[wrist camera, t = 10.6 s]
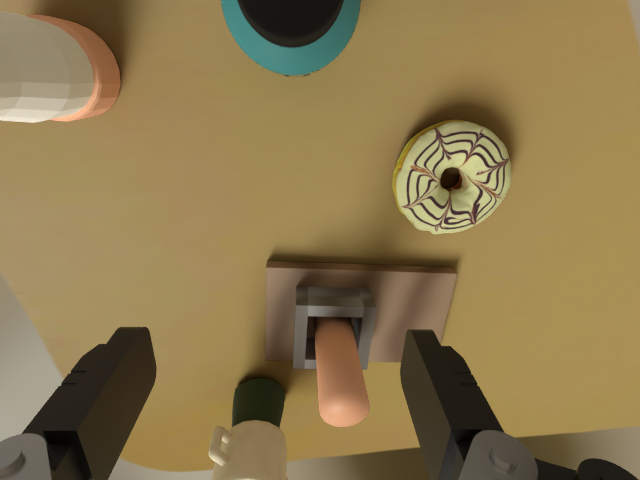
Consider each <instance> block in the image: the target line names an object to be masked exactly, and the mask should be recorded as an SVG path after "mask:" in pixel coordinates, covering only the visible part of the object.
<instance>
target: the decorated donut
mask: <svg viewBox="0 0 640 480" xmlns="http://www.w3.org/2000/svg"><path fill="white" fill-rule="evenodd" d="M449 167H455V168H457V169H458V170H459V173H460V178H459V182H458V183H457V184H456V185H455V186H453V188H452V187H450V188H449V189H444V188H442V187H441V185H440V179H441V175H442V173H443V171H444V170H445V169H446V168H449ZM511 174H512V173H511V163H510V159H509V155H508V152H507V149H506V147H505V145H504V144H503V142H502V141H500V139H499V138H498V137H497V136H496V135H495V134H494V133H493V132H492V131H490V130H488V129H487V128H485V127H483V126H480V125H478V124H475V123H472V122H468V121H463V120H448V121H443V122H440V123H437V124H435V125H432V126H430V127H428V128H426V129H424V130H422V131H421V132H419V133H418V134H416V135H415V136H414V137H412V138H411V139H410V141H409V142H408V143H407V144H406V146H405V147H404V149H403V151H402V153H401V155H400V157H399V159H398V160H397V164H396V167H395V170H394V172H393V181H392V187H393V192H394V194H395V200H396V203H397V206H398V208H399V210H400V212H401V213H402V214H404V215H405V216H406V217H407V218H408V219H409V221H410V222H411V223H412V224H413V225H414V226H415V227H416V228H417V229H419V230H423V231H430V232H431V233H432V234H442V233H453V232H459V231H463V230H466V229H468V228H470V227H472V226H475V225H477V224H478V223H480V222H481V221H483V220H484V219H486V218H487V217H488V216H489V215H491V214H492V213H493V211H494V210H495V209H496V208H497V207H498V206H499V205H500V203H501V202H502V200H503V199H504V197H505V195H506V193H507V191H508V189H509V187H510V185H511V179H512V176H511Z"/></svg>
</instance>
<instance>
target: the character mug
mask: <svg viewBox="0 0 640 480" xmlns="http://www.w3.org/2000/svg"><path fill="white" fill-rule="evenodd" d="M284 401H285V394H284V391H283V388H282V387H281V386H280V385H279V384H278V383H277V382H275V381H273V380H269V379H265V378H261V379H252V380H249V381H247V382H244V383H242V384H241V385H240V386H238V387H237V388H236V389H235V394H234V400H233V410H232V428H231V429H230V430H229V431H228V430H226V429H225V428H224V427H221V426H217V427H216V428H215V430H214V432H213V435H212V439H211V443H210V448H209V456H210V458H211V459H212V460H213V461H215V465H214V468H213V475H212V480H287V476H286V457H287V448H286V441H285V435H284V434H283V432H282V431H281V430H280V428H279V427H280V422H281V417H282V413H283V408H284Z"/></svg>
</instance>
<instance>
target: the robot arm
mask: <svg viewBox="0 0 640 480" xmlns="http://www.w3.org/2000/svg"><path fill="white" fill-rule="evenodd" d="M400 376H401V384H402V388H403V391H404V395H405V398H406V401H407V405H408V408H409V411H410V414H411V418H412V421H413V424H414V428H415V431H416V434H417V437H418V441H419V444H420V447H421V450H422V454H423V457H424V460H425V464H426V467H427V470H428V473H429V477H430V480H638V479H637V478H636V477H634V476H633V475H632V474H631V473H629V472H628V471H626V470H625V469H623V468H621V467H620V466H617V465H616V464H614V463H611V462H608V461H606V460H601V459H595V458H594V459H586V460H584V461H582V462H581V463H580V465H579V467H578V469H577V471H575V470H572V469H568V468H565V467H561V466H558V465H555V464H551V463H548V462H544V461H541V460H538V459H536V458H534V457H533V455H532V454H531V453H530V451H529V450H528V449H527V448H526V447H525V446H524V445H523V444H522V443H521V442H520V441H518V440H517V439H515V438H514V437H512V436H510V435H508V434H506V433H504V431H503V429H502V427H501V426H500V424H499V422H498V420H497V418H496V417H495V415H494V413H493V411H492V409H491V407H490V406H489V404H488V402H487V400H486V398H485V397H484V395H483V393H482V391H481V389H480V387H479V386H477V382H476V380H475V378H474V377H473V375H471V371H470V369H469V367H468V366H467V364H466V362H465V360H464V358H463V357H462V356H460V355H459V354H458V353H457V352H456V351H455V350H454V349H453V348H452V347H451V346H441V345H440V343H439V341H438V339H437V337H436V335H435V333H434V331H433V330H431V329H408V330H407V332H406V337H405V343H404V349H403V355H402V361H401V368H400ZM155 378H156V362H155V357H154V352H153V347H152V342H151V337H150V332H149V330H148V328H147V327H120V328H118V329H117V330H116V331H115V333H114V334H113V335H112V337H111V338H110V340H109V341H108V342H107V344H99V345H97V346H96V347H95V348H93V349H92V350H91V351H89V352H88V353H86V354H85V355H84V356H82V358H81V359H80V360H79V361H78V363H77V364H76V365H75V366H74V368H73V369H72V370H71V374H68V375H67V377H66V378H65V379H64V380H63V382H62V384H61V386H59V387H58V388H57V389H56V391H55V392H54V393H53V395H52V396H51V397H50V398H49V400H48V401H47V402H46V403H45V405H44V406H43V407H42V409H41V410H40V411H39V412H38V414H37V415H36V416H35V417H34V419H33V420H32V421H31V422H30V424H29V425H28V426H27V427H26V429H25V430H24V431H23V433H22V434H20V435H16V436H12V437H10V438H7V439H5V440H3V441H1V442H0V480H108V478H109V476H110V474H111V472H112V470H113V468H114V466H115V464H116V462H117V460H118V458H119V456H120V454H121V452H122V449H123V447H124V445H125V443H126V441H127V439H128V437H129V435H130V433H131V431H132V429H133V427H134V425H135V423H136V421H137V419H138V417H139V414H140V412H141V410H142V408H143V406H144V404H145V402H146V400H147V398H148V396H149V394H150V392H151V390H152V388H153V385H154V382H155Z"/></svg>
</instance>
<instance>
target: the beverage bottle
mask: <svg viewBox="0 0 640 480" xmlns="http://www.w3.org/2000/svg"><path fill="white" fill-rule="evenodd" d="M360 2H361V0H221V4H222V9H223V14H224V17H225V20H226V23H227V25H228V28H229V30H230V32H231V34H232V36H233V37H234V39H235V41H236V42H237V44H238V45H239V46H240V48H241V49H242V50H243V51H244V52H245V53H246V54H247V55H248V56H249V57H250V58H251V59H252V60H254V61H255V62H256V63H258V64H259V65H261V66H262V67H264V68H265V69H268V70H270V71H273V72H276V73H279V74H285V76H287V75H303V74H308V73H309V74H310V73H311V72H314V71H317V70H319V69H321V68H323V67H324V66H326V65H328V64H329V63H330V62H332V61H333V60H334V59H335V58H336V57H337V56H338V55H339V54H340V53H341V52H342V50H343V49H344V48H345V47H346V45H347V43H348V42H349V40H350V38H351V36H352V34H353V32H354V30H355V27H356V24H357V21H358V16H359V11H360ZM309 74H308V75H309ZM303 76H307V75H303ZM303 76H302V77H303ZM297 77H298V76H297Z"/></svg>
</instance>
